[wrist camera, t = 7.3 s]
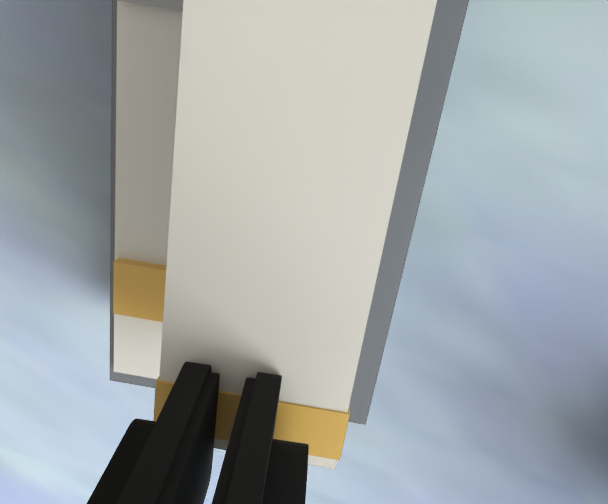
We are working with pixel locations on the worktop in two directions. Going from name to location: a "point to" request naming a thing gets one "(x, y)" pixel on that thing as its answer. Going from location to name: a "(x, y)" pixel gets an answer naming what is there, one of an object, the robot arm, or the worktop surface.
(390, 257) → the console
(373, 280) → the block
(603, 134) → the worktop surface
